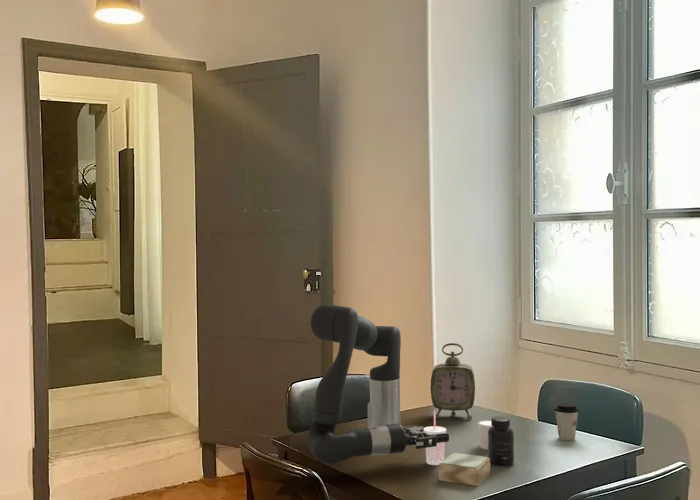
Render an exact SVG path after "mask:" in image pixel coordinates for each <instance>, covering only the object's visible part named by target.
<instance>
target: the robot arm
mask: <svg viewBox="0 0 700 500" xmlns="http://www.w3.org/2000/svg"><path fill="white" fill-rule="evenodd" d="M310 328H311V331H312V333H313V335H314V336H315V337H316V338H317V339H320V340H322V341H327V342H332V343H338V344H339V346H338V351H337V355H336V357H335V359H334V361H333V362H332V364H331V366H330V367H329V368H328V370H327V371H326V372H325V373H324V375H323V376H322V378H321V379H320V381H319V382H318V385H317V388H316V391H315V397H314V408H313V409H314V410H313V417H312V420H311V424H310V427H309V431H308V435H307V437H308V438H307V444H308V449H309V450H310V451H309V452H310V453H311V454H312V455H313V456H314V458H315V459H316V460H317V461H318V462H320V463H323V464H335V463H339V462H343V461H345V460H349V459H351V458H355V457H364V456H383V455H394V454H401V453H402V454H403V452H405V449H406V447H407V446H409V447H415V449H416V450H419V449H426V448H428V447H435V446H437V443H441V442H445V443H448V442H449V441H450V434H449V433H448V432H446V433H440V434H428V433H427V432H424V430H423V429H424V428H425V427H424V426H423V425H421V426H420V425H419V424H415V425H402V424H401V390H400V388H401V383H400V382H401V381H400V380H401V379H400V377H401V376H400V375H401V345H402V343H401V341H402V340H401V339H402V337H401V332H400V329H399V327H398V326H394V325H393V326H392V325H391V326H389V325H375V324H374V322H372V320H370V319H369V318H366V317H364V316H361V315H358V313H357V310H355V308H352V307H349V306H341V305H337V304H336V305H335V304H328V303H325V304H321V305H318V306H317V307H316V308H315V309H314V311H313V313H312V315H311V318H310ZM354 350H358V351H363V352H364V353H366V354H367V355H370V356H374V357H387V359H386V362H384V363H383V364H381V365H377V366H373V367H372V368H370V370H369V402H367V427H359V428H358V427H357V428H352V429H349V430H347V431H346V432H345V433H344V434H340V435H335V430H336V426H337V424H338V423H339V422H340V420H341V417H342V410H343V401H344V391H345V386H346V380H347V376H348V372H349V369H350V364H351V360H352V357H353V351H354ZM431 439H432V441H429V440H431Z"/></svg>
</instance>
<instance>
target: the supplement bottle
mask: <svg viewBox="0 0 700 500" xmlns="http://www.w3.org/2000/svg"><path fill="white" fill-rule="evenodd" d="M510 420H511V419H510V418H509V417H508V416H503V415H501V416H500V415H495V416H493V417H491V425H492V427H491V428H490V429H489V430H488V450H487V457H488V458H490V465H493V466H495V467H510V466H512V465H513V464H514V463H515V434H514V432H515V431H514V430H513V429H512V428H511V427H510V426H511V421H510Z"/></svg>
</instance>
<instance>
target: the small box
mask: <svg viewBox="0 0 700 500" xmlns="http://www.w3.org/2000/svg"><path fill="white" fill-rule="evenodd" d="M489 475H491V464H490V458H488V456H482V455H473V454H466V453H458V452H453V453H451V454H449V456H447V457H446V458H444V460H443V461H442V462H441V463H440V464H439V465H438V480H439V481H442V482H443V481H444V482H449V483H454V484H462V485H470V486H477V487H478V486H480V485H481V484H482V482H484V481H485V480H486V479H487V478H488V477H489Z"/></svg>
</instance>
